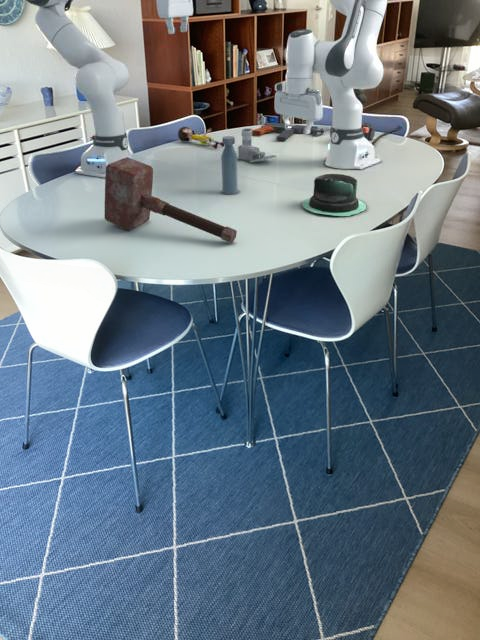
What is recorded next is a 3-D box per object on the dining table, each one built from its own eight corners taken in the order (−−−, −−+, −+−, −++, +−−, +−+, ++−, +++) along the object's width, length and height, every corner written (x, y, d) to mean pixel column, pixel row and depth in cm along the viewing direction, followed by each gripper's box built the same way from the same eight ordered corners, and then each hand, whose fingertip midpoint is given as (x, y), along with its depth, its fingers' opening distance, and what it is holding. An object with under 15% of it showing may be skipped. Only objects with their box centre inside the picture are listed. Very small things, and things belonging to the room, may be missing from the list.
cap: (225, 145, 180) (225, 139, 179) (220, 143, 183) (220, 137, 182) (236, 143, 181) (236, 137, 180) (231, 141, 184) (231, 135, 183)
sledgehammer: (247, 201, 148) (125, 155, 160) (230, 213, 141) (104, 163, 152) (236, 257, 158) (122, 210, 170) (220, 270, 151) (102, 220, 162)
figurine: (211, 139, 238) (170, 125, 250) (210, 157, 242) (170, 142, 255) (230, 134, 247) (190, 120, 259) (229, 150, 251) (189, 136, 263)
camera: (247, 126, 226) (276, 132, 217) (247, 155, 232) (275, 162, 223) (233, 130, 220) (262, 135, 212) (233, 160, 226) (261, 166, 218)
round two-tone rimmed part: (371, 195, 181) (367, 217, 164) (320, 217, 189) (311, 241, 173) (352, 153, 175) (346, 172, 159) (300, 178, 184) (289, 199, 168)
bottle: (226, 195, 187) (224, 141, 178) (220, 191, 191) (217, 138, 182) (240, 193, 189) (239, 139, 180) (233, 188, 193) (232, 136, 184)
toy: (345, 120, 249) (377, 123, 242) (343, 139, 253) (375, 143, 246) (337, 123, 243) (369, 127, 236) (336, 143, 247) (367, 147, 240)
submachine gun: (243, 132, 260) (267, 122, 278) (243, 138, 261) (267, 127, 280) (305, 138, 246) (326, 127, 265) (305, 144, 248) (326, 133, 266)
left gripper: (179, -16, 185) (182, 30, 192) (151, -17, 169) (155, 34, 176) (196, -17, 183) (198, 30, 190) (170, -17, 167) (173, 34, 174)
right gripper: (328, 89, 173) (325, 135, 179) (286, 82, 187) (284, 125, 194) (313, 91, 169) (311, 137, 176) (271, 84, 184) (270, 127, 191)
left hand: (177, 32), depth 183 cm, fingers open, 8 cm apart
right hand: (297, 131), depth 185 cm, fingers open, 8 cm apart
